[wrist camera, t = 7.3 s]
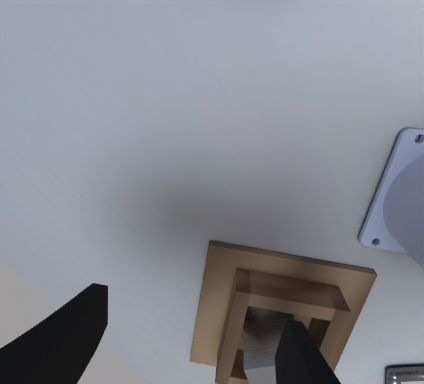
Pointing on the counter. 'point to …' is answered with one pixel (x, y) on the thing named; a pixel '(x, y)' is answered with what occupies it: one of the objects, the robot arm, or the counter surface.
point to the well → (273, 302)
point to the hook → (404, 374)
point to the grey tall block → (262, 343)
